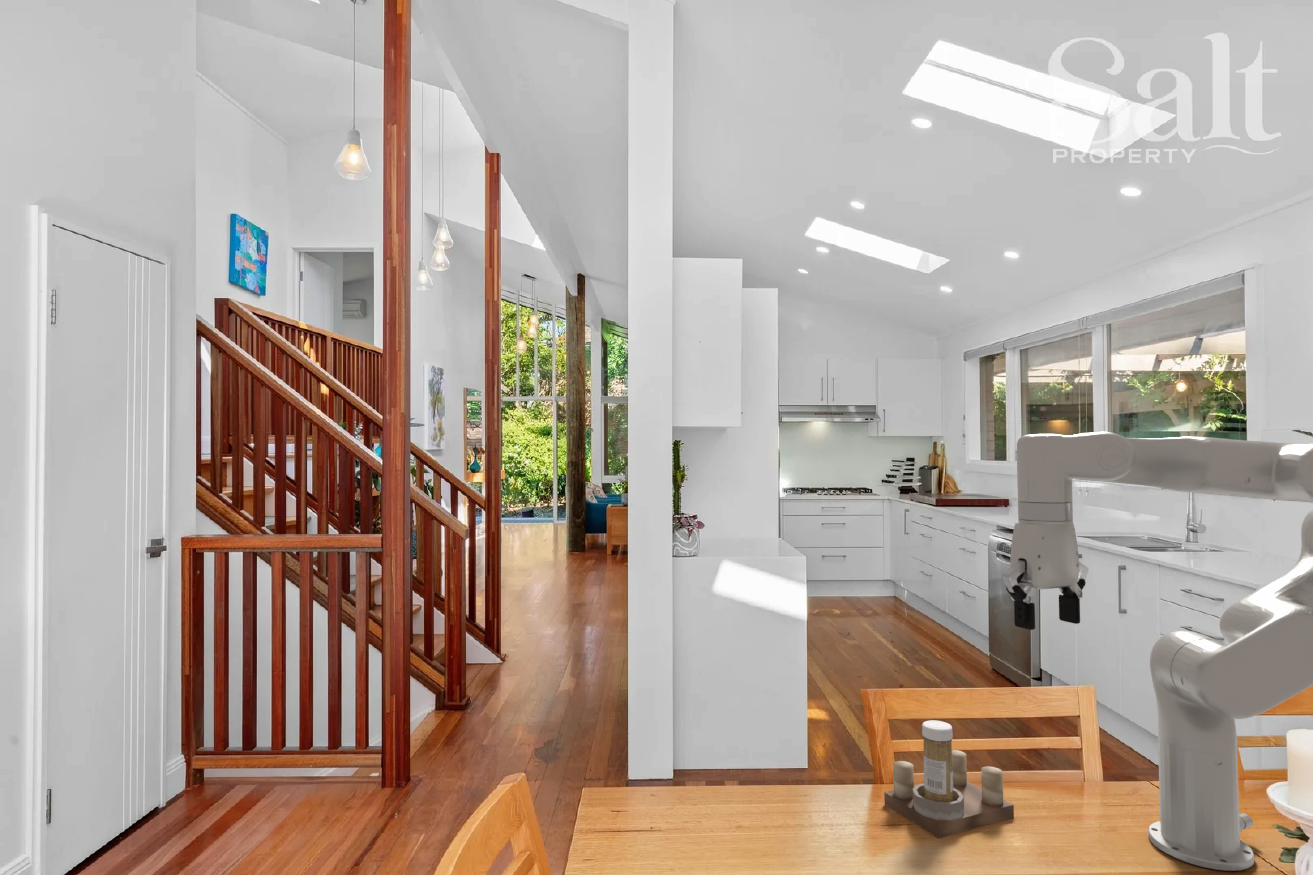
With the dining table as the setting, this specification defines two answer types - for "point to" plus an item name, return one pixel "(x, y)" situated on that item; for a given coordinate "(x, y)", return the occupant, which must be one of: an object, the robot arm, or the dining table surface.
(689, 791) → the dining table surface
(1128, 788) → the dining table surface
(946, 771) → the sprinkles bottle
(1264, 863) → the dining table surface
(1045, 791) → the dining table surface
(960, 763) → the bottle holder base
